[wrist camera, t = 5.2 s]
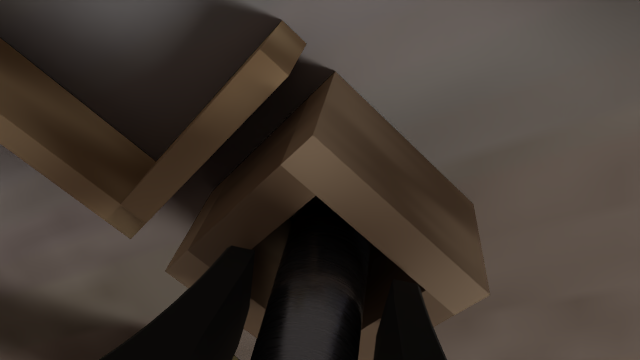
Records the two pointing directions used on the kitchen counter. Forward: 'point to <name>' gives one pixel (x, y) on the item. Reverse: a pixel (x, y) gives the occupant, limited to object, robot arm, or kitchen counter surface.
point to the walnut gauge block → (344, 210)
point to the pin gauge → (316, 290)
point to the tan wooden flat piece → (116, 150)
